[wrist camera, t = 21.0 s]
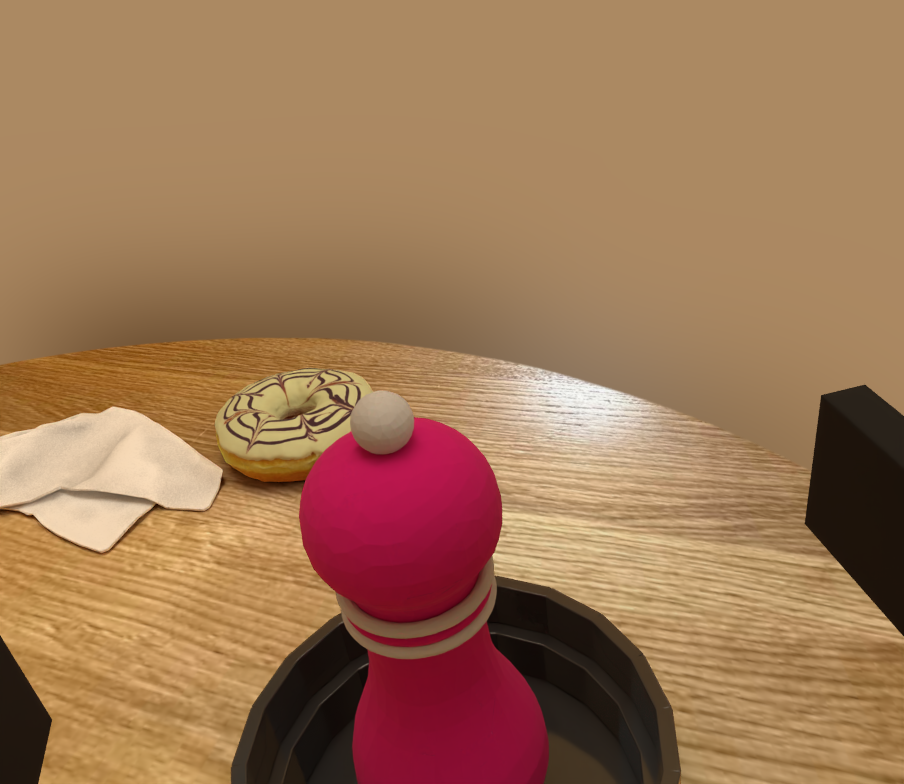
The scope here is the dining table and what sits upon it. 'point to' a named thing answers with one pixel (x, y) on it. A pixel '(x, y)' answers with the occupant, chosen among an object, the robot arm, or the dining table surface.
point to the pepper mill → (421, 601)
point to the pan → (529, 650)
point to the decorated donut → (287, 422)
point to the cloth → (102, 475)
